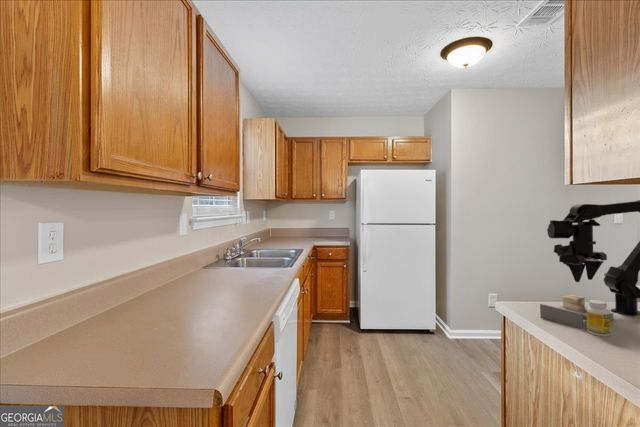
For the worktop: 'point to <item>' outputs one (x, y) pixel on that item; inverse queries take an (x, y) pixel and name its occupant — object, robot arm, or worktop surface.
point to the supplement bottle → (598, 318)
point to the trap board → (566, 315)
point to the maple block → (574, 302)
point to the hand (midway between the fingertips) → (583, 280)
